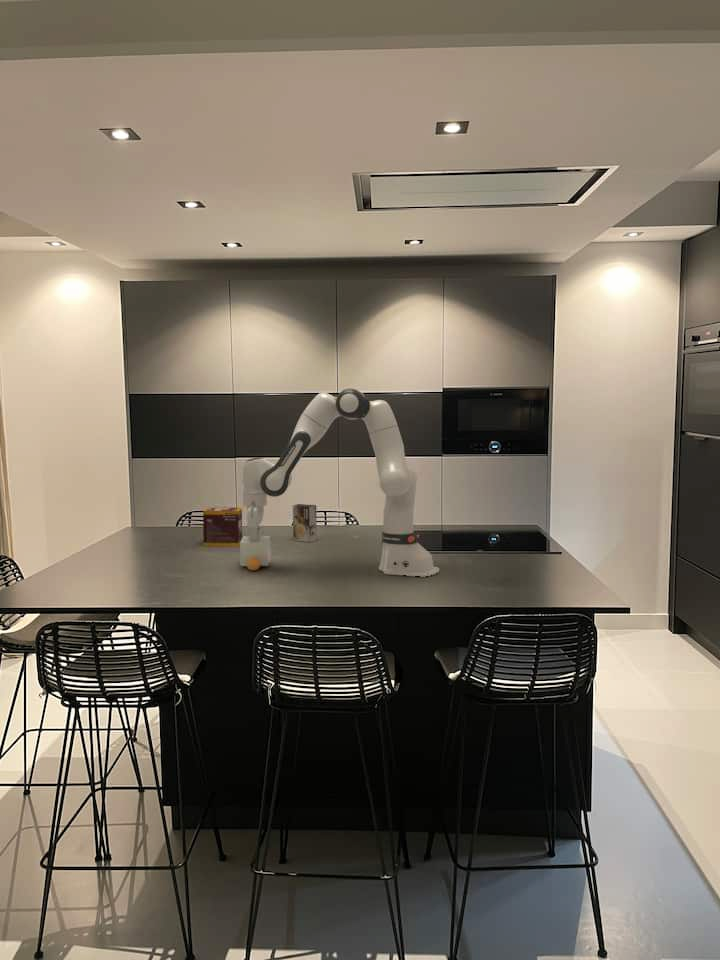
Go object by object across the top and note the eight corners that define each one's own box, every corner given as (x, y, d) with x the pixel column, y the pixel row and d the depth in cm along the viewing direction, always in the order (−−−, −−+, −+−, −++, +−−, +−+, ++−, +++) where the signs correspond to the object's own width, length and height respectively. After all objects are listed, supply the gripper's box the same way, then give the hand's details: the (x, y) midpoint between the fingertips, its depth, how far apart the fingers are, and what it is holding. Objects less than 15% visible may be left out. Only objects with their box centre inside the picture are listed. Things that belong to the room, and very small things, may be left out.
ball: (263, 569, 276) (262, 556, 274) (254, 573, 271) (254, 560, 270) (252, 567, 278) (252, 554, 277) (244, 571, 274) (243, 558, 273)
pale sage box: (270, 558, 287) (269, 526, 285) (267, 565, 277) (267, 532, 275) (243, 558, 287) (243, 526, 285) (240, 565, 277) (239, 532, 275)
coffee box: (317, 540, 334) (317, 504, 332) (309, 542, 329) (309, 506, 327) (300, 538, 338) (299, 503, 337) (292, 540, 333) (292, 505, 331)
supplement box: (238, 546, 319) (238, 510, 318) (203, 546, 320) (202, 510, 318) (243, 542, 330) (242, 507, 328) (208, 541, 330) (207, 507, 328)
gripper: (260, 504, 268) (260, 542, 270) (266, 497, 289) (266, 532, 290) (242, 504, 268) (243, 542, 270) (249, 497, 289) (250, 532, 290)
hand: (255, 536), depth 280 cm, fingers closed on pale sage box, 4 cm apart
